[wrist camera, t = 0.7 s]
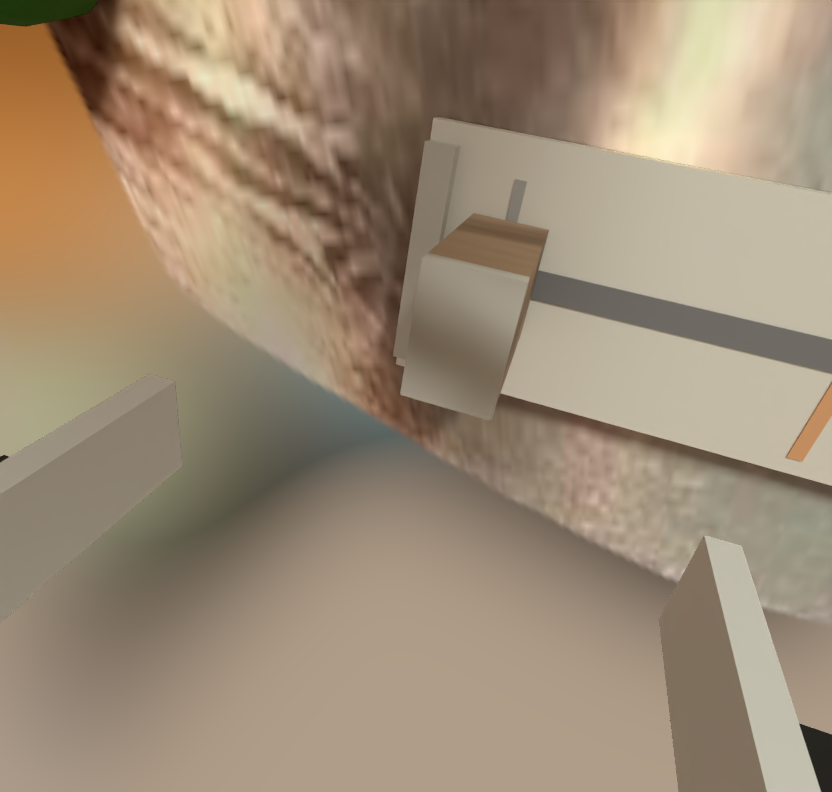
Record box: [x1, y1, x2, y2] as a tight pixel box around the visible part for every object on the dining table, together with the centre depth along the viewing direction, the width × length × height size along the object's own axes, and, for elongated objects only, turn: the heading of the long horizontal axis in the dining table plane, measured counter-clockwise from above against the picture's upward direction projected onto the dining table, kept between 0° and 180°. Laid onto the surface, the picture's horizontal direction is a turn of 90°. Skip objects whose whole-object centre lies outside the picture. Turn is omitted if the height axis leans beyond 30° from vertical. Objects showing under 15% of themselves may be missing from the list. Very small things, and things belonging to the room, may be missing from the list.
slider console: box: [393, 117, 832, 486], centre depth 29 cm, size 14×30×2 cm, turn 81°
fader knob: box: [400, 213, 549, 421], centre depth 26 cm, size 6×4×10 cm, turn 171°
